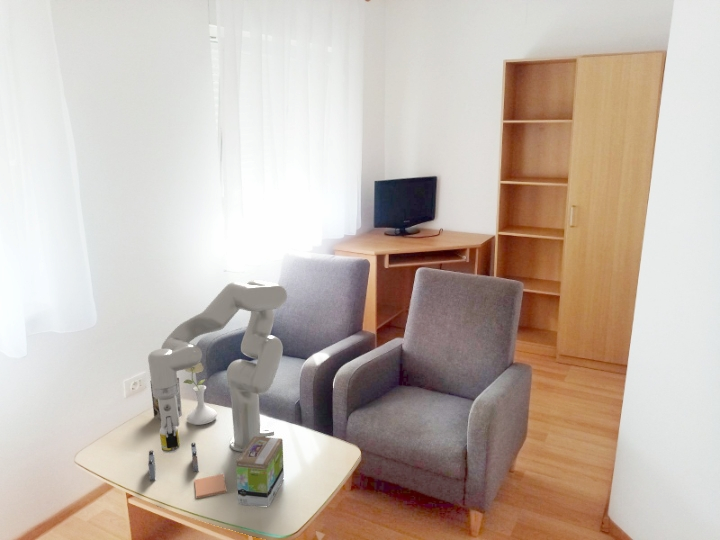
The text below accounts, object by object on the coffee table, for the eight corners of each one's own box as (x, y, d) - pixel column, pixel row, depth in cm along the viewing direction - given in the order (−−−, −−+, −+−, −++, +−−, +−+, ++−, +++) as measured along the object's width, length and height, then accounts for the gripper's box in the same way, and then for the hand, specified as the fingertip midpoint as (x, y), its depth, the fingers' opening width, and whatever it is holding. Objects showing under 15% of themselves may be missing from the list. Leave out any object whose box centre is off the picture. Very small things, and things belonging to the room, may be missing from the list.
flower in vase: (223, 416, 218) (218, 357, 212) (205, 429, 207) (200, 368, 202) (196, 410, 222) (190, 353, 216) (177, 424, 212) (171, 364, 206)
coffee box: (153, 418, 217) (149, 380, 213) (164, 410, 223) (160, 374, 219) (172, 421, 214) (168, 383, 210) (182, 414, 220) (179, 377, 216)
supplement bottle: (172, 455, 168) (168, 426, 166) (158, 452, 170) (154, 424, 168) (183, 445, 173) (180, 418, 171) (169, 442, 175) (166, 415, 172)
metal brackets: (197, 458, 188) (195, 441, 186) (198, 471, 181) (196, 453, 179) (150, 468, 183) (148, 450, 182) (150, 481, 176) (148, 463, 174)
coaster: (223, 476, 178) (223, 473, 178) (226, 492, 170) (226, 489, 170) (194, 482, 175) (194, 479, 175) (196, 498, 167) (196, 496, 167)
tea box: (269, 508, 162) (266, 464, 158) (237, 505, 164) (234, 461, 160) (285, 478, 176) (282, 437, 173) (255, 475, 178) (252, 434, 175)
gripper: (179, 399, 160) (186, 453, 165) (177, 375, 176) (183, 426, 180) (152, 404, 158) (159, 459, 162) (152, 379, 173) (159, 430, 178)
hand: (172, 441), depth 171 cm, fingers closed on supplement bottle, 5 cm apart
